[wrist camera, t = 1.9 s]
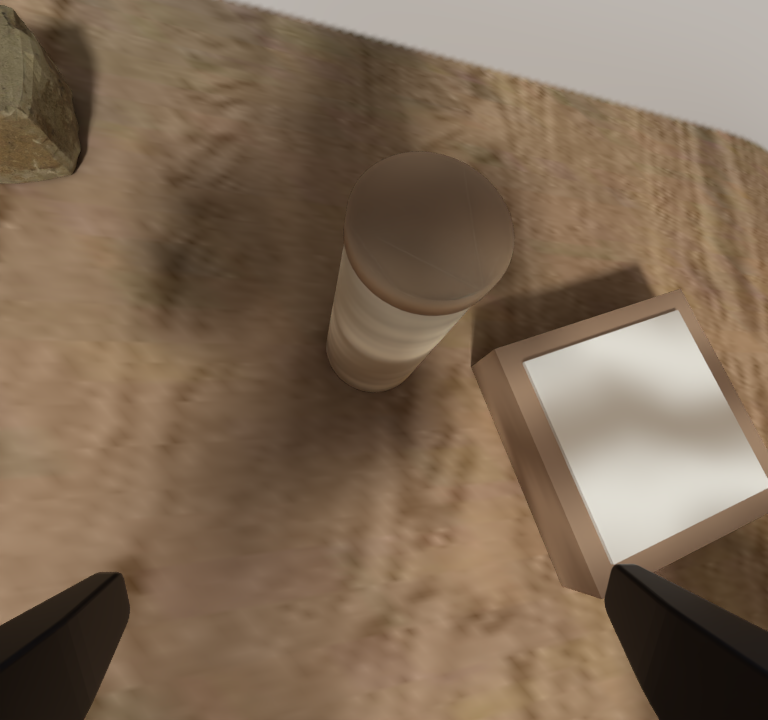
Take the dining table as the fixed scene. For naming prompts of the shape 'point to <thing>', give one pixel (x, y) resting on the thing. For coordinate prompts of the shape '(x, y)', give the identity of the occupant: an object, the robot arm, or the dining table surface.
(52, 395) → the dining table surface
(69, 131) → the stone block
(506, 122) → the dining table surface
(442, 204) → the lidded cylindrical jar
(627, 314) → the base
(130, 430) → the dining table surface
